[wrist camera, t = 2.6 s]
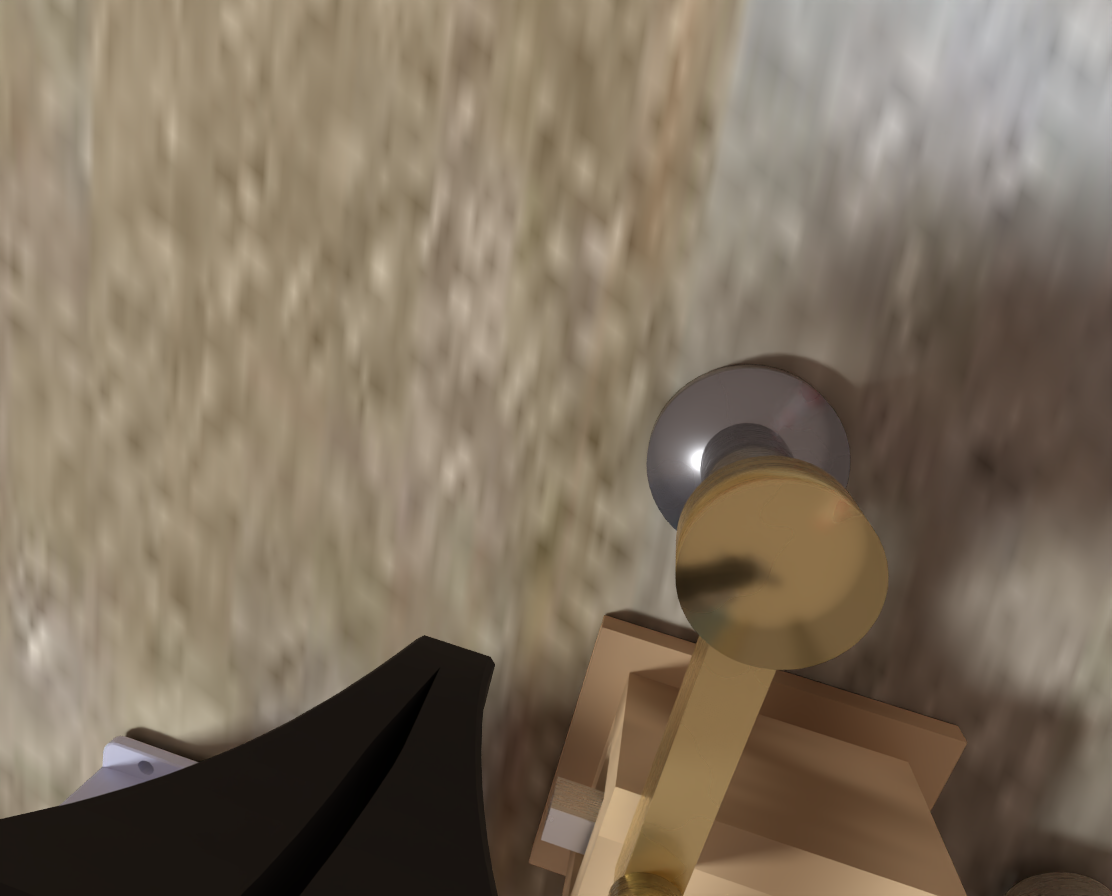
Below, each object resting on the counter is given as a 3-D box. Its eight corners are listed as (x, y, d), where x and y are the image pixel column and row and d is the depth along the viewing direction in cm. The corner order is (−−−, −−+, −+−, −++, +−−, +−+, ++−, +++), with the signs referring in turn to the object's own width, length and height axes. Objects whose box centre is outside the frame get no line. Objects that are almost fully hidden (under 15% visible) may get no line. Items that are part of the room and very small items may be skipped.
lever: (707, 433, 11) (712, 475, 9) (893, 486, 11) (943, 543, 9) (567, 854, 14) (547, 959, 12) (712, 904, 14) (717, 1021, 12)
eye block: (532, 845, 20) (493, 1005, 16) (604, 614, 18) (579, 730, 14) (838, 952, 19) (881, 1150, 15) (957, 726, 17) (1050, 886, 13)
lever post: (626, 515, 17) (607, 605, 13) (679, 341, 16) (678, 376, 11) (804, 569, 17) (846, 680, 12) (874, 395, 15) (949, 452, 11)
